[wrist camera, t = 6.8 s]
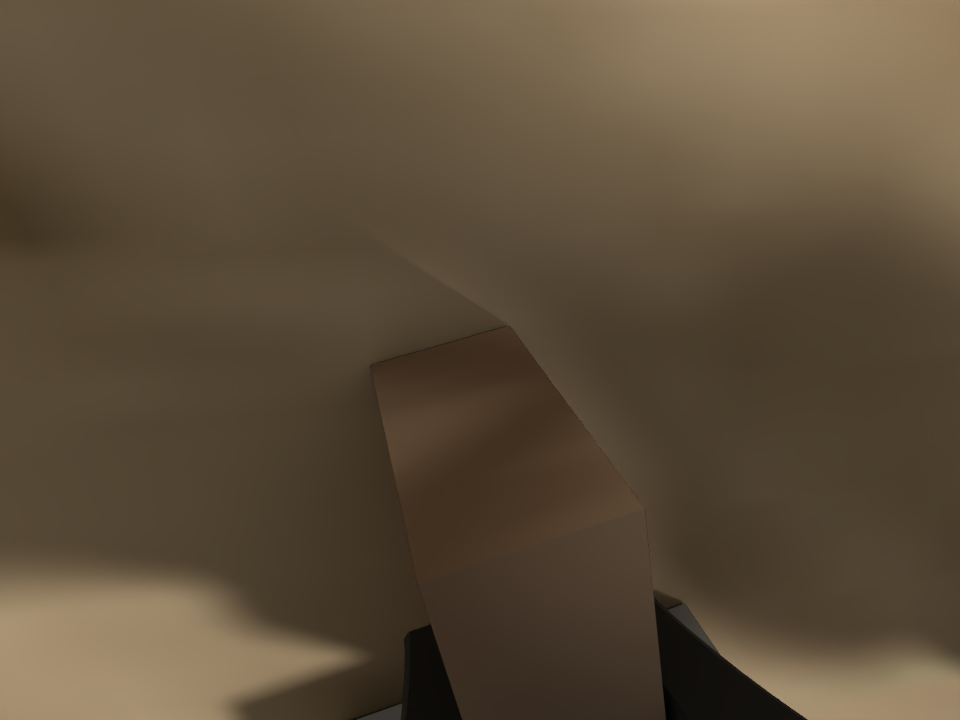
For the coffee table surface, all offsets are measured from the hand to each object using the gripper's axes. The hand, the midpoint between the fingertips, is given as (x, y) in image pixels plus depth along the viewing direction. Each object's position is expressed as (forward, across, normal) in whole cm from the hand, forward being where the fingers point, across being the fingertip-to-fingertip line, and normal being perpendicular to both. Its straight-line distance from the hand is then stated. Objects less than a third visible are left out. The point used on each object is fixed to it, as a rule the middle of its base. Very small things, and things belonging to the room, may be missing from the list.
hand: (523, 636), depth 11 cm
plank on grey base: (+2, 0, -1) cm, 2 cm away
